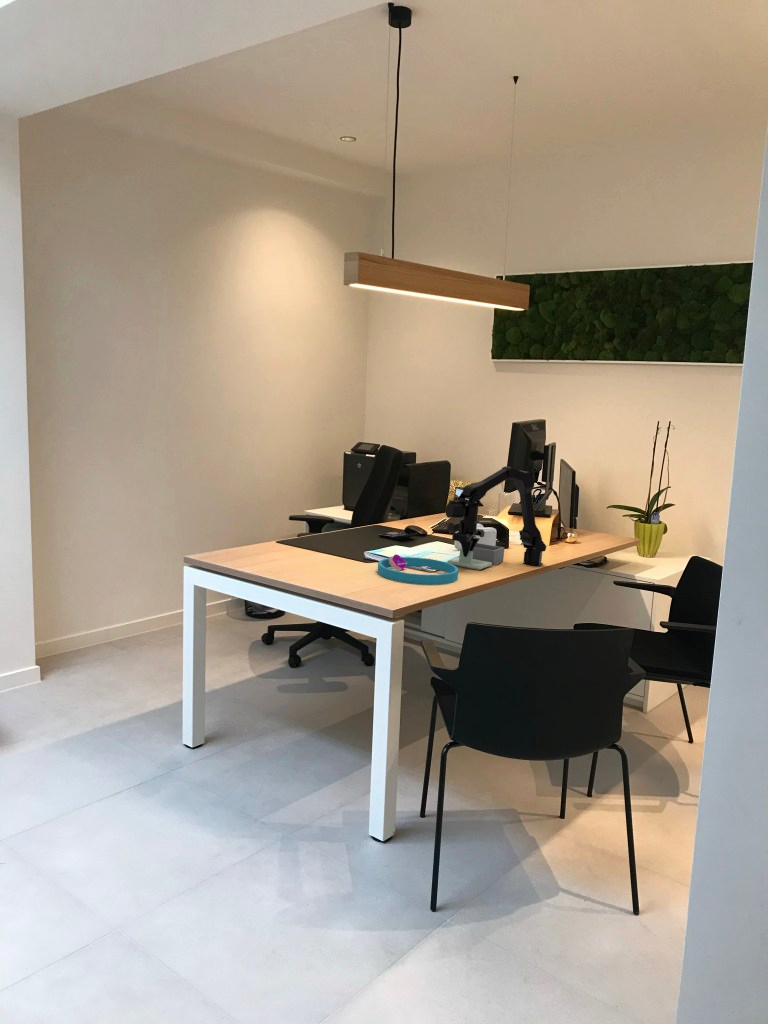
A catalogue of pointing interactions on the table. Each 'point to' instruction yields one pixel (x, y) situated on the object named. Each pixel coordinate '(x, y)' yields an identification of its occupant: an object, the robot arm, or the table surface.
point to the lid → (469, 561)
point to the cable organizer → (487, 539)
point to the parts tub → (488, 553)
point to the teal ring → (401, 562)
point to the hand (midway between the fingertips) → (466, 556)
